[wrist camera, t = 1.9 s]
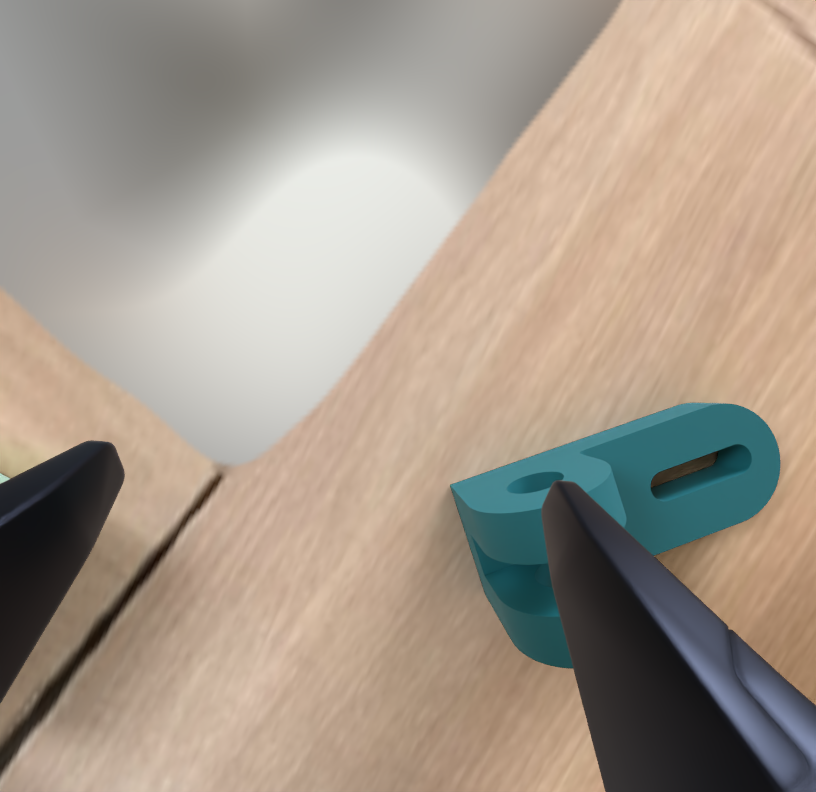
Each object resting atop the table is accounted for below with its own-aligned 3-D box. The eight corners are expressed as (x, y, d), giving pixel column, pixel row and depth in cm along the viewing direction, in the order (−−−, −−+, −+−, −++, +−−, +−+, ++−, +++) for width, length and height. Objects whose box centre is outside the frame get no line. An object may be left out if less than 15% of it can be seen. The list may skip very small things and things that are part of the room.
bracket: (485, 594, 24) (540, 691, 16) (449, 485, 24) (488, 529, 16) (757, 492, 26) (928, 535, 18) (725, 388, 25) (885, 385, 17)
